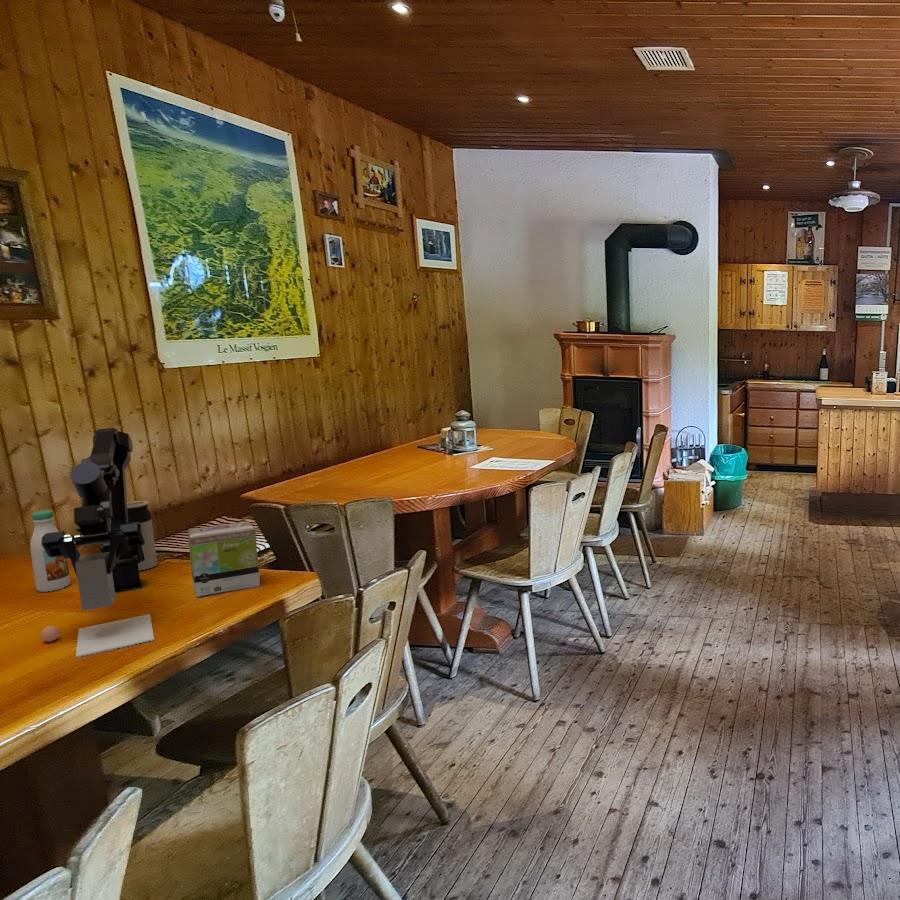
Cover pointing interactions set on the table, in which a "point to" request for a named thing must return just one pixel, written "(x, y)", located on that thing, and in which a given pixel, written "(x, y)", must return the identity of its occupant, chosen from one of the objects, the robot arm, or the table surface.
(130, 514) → the travel mug
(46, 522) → the milk bottle
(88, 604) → the tin
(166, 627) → the table surface
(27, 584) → the table surface
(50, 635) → the ball
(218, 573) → the tea box
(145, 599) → the table surface
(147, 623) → the mat
